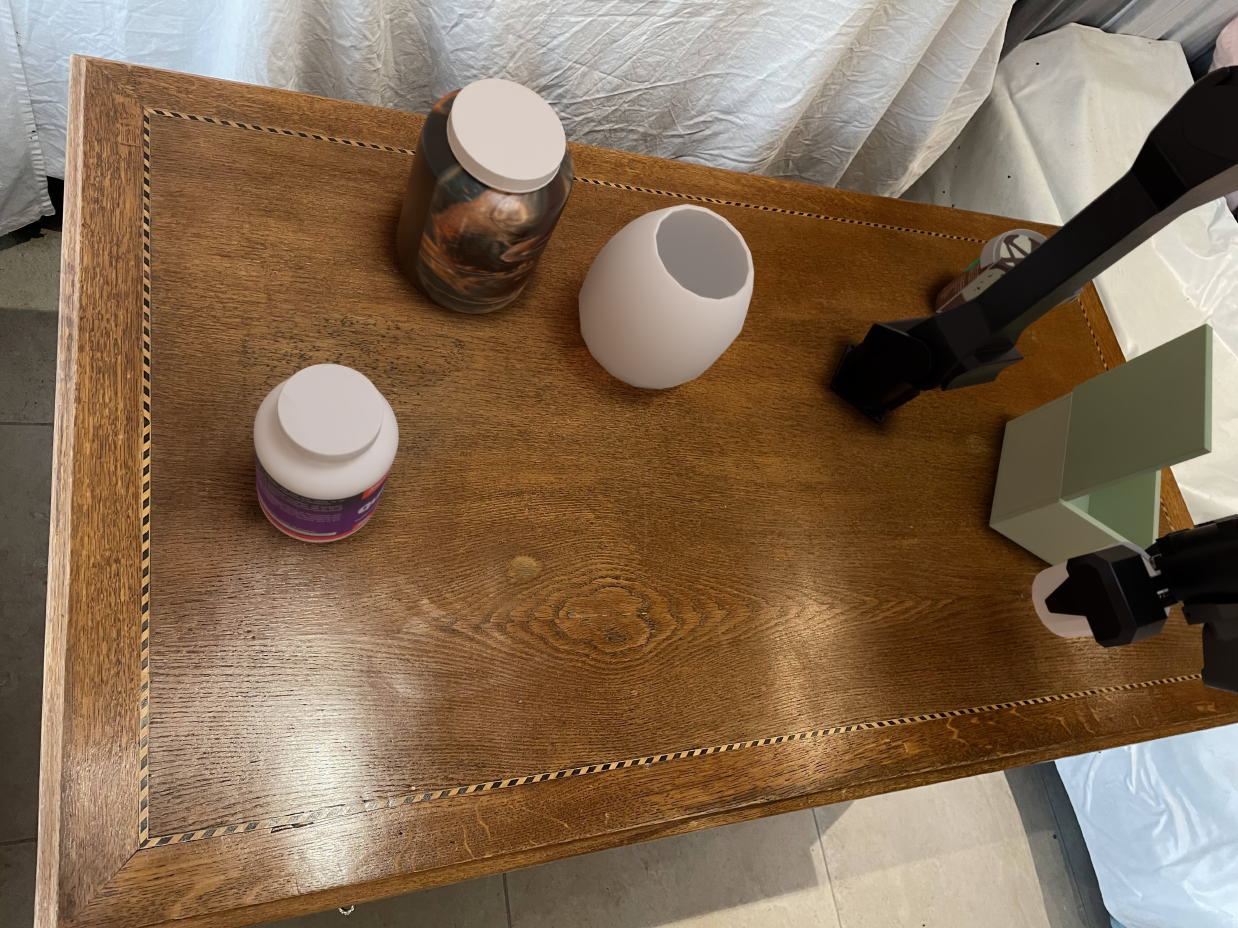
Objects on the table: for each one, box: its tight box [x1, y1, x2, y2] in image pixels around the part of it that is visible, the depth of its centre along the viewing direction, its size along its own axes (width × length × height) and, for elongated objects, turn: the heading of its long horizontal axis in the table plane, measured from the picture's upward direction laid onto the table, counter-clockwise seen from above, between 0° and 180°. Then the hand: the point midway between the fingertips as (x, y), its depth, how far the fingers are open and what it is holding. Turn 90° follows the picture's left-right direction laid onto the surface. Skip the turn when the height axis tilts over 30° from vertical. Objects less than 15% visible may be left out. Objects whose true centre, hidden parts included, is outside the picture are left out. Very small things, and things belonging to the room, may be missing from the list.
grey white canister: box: [1031, 542, 1171, 638], centre depth 62 cm, size 7×7×7 cm
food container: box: [935, 228, 1084, 314], centre depth 86 cm, size 12×6×10 cm, turn 84°
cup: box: [578, 203, 755, 390], centre depth 65 cm, size 13×13×14 cm
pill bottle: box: [253, 363, 400, 543], centre depth 49 cm, size 8×8×14 cm
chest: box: [988, 391, 1162, 567], centre depth 80 cm, size 12×13×8 cm
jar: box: [396, 77, 575, 315], centre depth 60 cm, size 12×12×15 cm
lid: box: [1060, 322, 1214, 502], centre depth 69 cm, size 13×13×1 cm
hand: (1073, 598), depth 63 cm, fingers closed on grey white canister, 6 cm apart
